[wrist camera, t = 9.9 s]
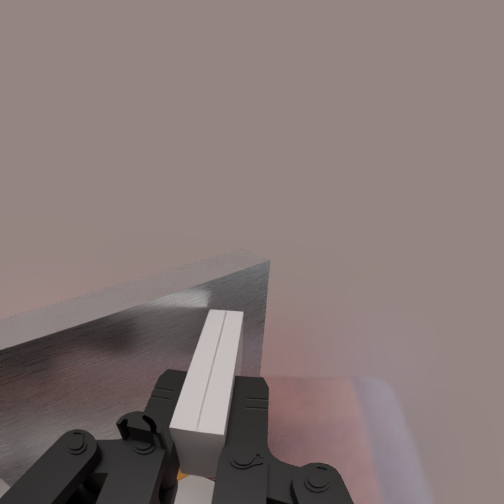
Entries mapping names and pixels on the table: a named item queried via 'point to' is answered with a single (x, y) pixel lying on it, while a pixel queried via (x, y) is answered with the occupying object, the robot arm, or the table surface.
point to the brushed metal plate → (115, 351)
